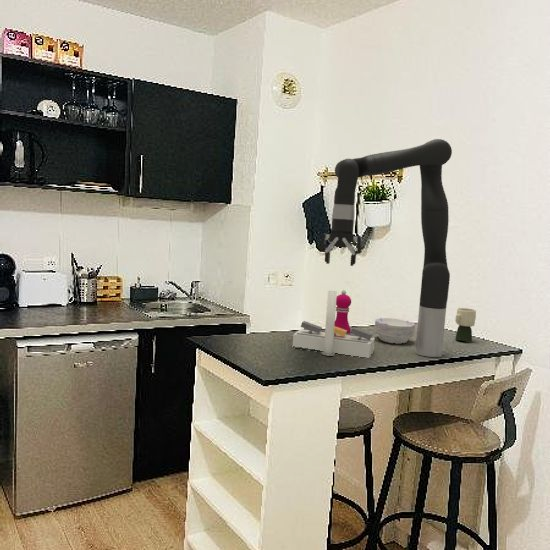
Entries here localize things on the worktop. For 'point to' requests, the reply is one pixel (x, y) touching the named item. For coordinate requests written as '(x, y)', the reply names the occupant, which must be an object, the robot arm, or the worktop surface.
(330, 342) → the post
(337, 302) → the pepper mill
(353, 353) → the breaker panel
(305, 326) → the paddle
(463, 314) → the character mug
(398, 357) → the worktop surface
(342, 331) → the block
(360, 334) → the paddle
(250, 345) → the worktop surface
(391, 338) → the paper bowls
